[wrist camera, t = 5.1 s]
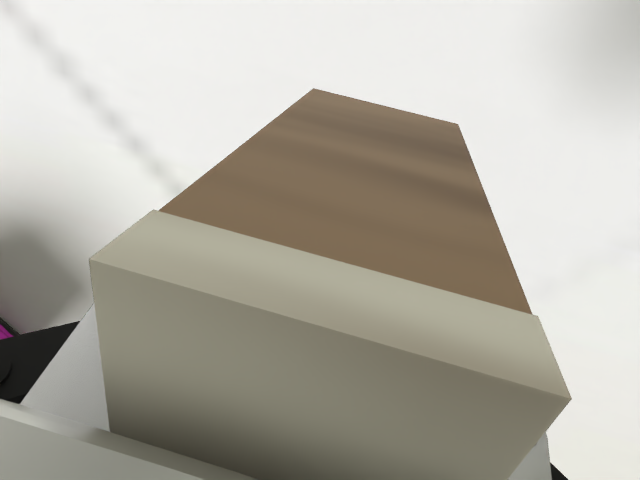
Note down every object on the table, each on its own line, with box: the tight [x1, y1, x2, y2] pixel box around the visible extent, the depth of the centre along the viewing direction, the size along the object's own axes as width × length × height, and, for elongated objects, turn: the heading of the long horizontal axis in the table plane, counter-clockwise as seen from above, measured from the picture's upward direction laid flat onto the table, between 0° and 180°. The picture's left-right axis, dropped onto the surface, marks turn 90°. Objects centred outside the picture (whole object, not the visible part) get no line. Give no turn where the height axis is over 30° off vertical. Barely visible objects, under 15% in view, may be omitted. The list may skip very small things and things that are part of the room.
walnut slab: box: [89, 88, 572, 480], centre depth 9 cm, size 8×4×9 cm, turn 168°
